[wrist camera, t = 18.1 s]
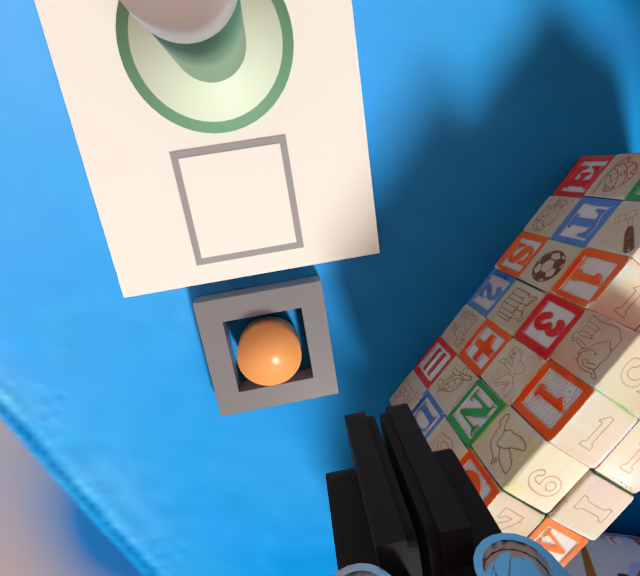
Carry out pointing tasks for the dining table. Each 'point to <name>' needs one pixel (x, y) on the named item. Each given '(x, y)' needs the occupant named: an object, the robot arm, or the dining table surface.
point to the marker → (196, 34)
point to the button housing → (254, 303)
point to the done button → (269, 351)
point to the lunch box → (607, 557)
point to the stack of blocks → (548, 366)
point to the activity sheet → (219, 143)
